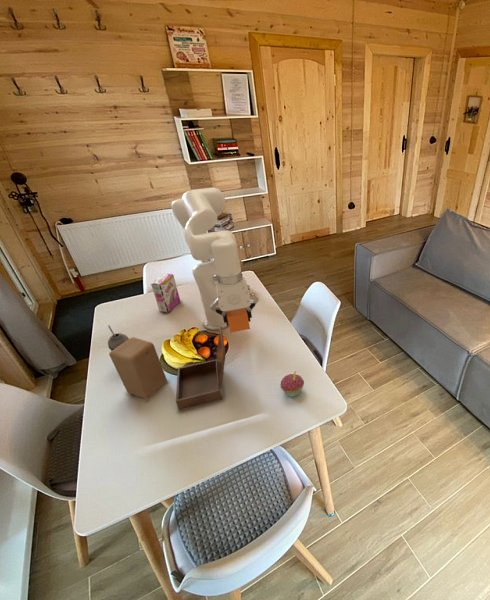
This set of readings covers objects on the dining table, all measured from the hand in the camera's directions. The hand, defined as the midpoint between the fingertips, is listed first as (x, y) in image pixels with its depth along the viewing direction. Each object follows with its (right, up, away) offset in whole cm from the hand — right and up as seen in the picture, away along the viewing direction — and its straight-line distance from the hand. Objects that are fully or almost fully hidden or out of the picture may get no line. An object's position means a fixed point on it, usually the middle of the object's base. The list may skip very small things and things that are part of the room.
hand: (238, 321), depth 117 cm
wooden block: (-37, -26, +9) cm, 46 cm away
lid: (-9, -14, +5) cm, 17 cm away
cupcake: (+18, -28, +9) cm, 34 cm away
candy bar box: (-53, +4, +55) cm, 77 cm away
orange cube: (0, -2, +1) cm, 2 cm away
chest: (-17, -26, +9) cm, 33 cm away
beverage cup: (-51, -19, +18) cm, 57 cm away
